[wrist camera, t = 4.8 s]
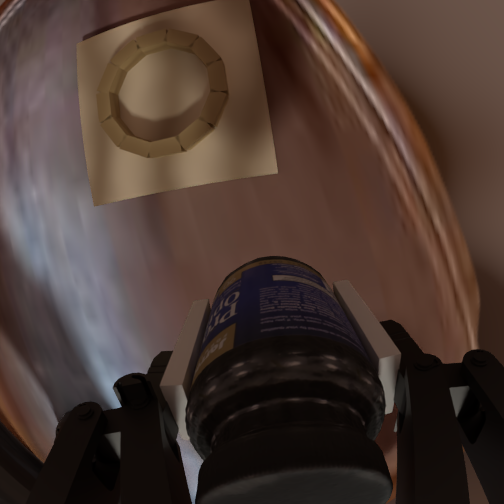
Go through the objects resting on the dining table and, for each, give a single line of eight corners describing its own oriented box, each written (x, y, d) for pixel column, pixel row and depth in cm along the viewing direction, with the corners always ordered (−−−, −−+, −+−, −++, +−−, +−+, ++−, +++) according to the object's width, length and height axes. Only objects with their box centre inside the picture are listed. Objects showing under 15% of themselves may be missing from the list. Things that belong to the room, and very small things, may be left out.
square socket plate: (100, 204, 26) (84, 210, 23) (82, 47, 22) (66, 38, 19) (277, 172, 25) (279, 174, 22) (248, 1, 20) (247, -15, 18)
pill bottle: (218, 246, 15) (146, 425, 4) (344, 260, 15) (471, 422, 4) (210, 355, 17) (173, 542, 6) (319, 364, 17) (367, 541, 6)
